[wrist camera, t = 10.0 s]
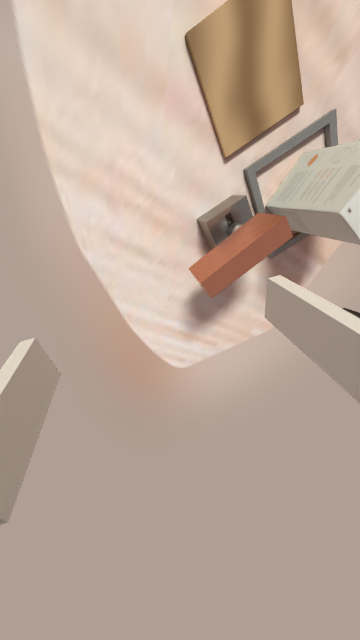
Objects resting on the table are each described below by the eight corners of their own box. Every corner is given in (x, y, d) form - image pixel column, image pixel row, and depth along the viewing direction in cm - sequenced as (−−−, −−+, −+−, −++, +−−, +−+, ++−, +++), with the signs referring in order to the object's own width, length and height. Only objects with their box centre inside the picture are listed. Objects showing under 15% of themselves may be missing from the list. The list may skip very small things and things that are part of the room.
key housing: (232, 195, 29) (246, 195, 26) (245, 233, 33) (259, 238, 29) (196, 219, 30) (206, 222, 27) (212, 254, 33) (223, 261, 30)
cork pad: (281, -39, 20) (286, -45, 19) (300, 105, 26) (303, 103, 25) (184, 36, 21) (186, 33, 20) (224, 158, 27) (226, 157, 26)
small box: (287, 230, 34) (363, 247, 23) (264, 206, 31) (337, 213, 20) (325, 181, 31) (431, 176, 21) (303, 150, 28) (413, 125, 18)
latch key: (182, 262, 28) (200, 283, 22) (246, 210, 27) (286, 216, 20) (192, 274, 30) (211, 298, 23) (253, 226, 28) (292, 236, 21)
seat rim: (330, 110, 27) (336, 108, 26) (337, 214, 34) (341, 214, 34) (243, 169, 28) (246, 169, 27) (268, 256, 36) (271, 258, 35)
